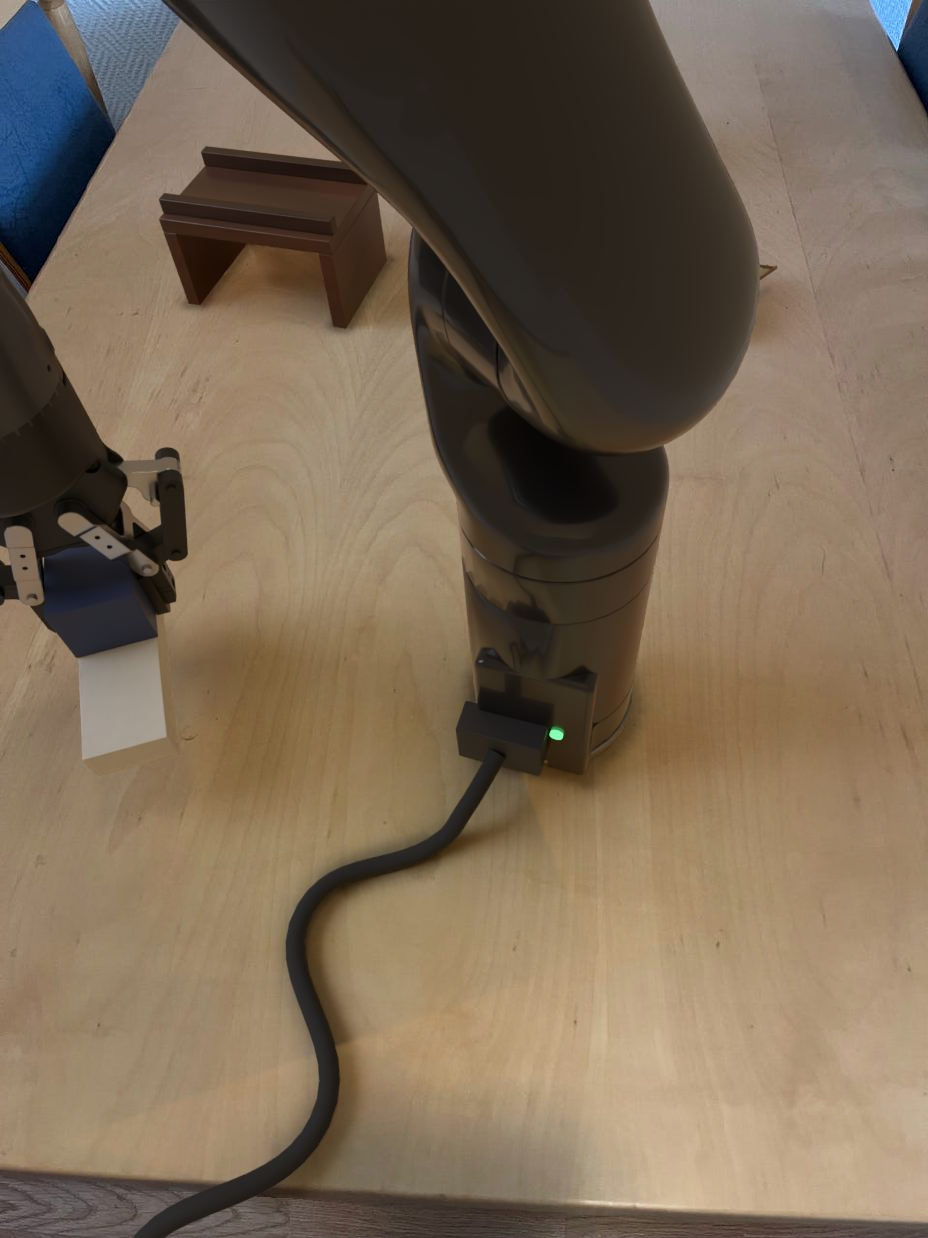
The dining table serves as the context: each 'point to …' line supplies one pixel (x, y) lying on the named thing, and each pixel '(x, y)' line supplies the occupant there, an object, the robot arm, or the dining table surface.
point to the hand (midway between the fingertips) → (119, 612)
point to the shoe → (113, 658)
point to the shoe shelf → (276, 222)
